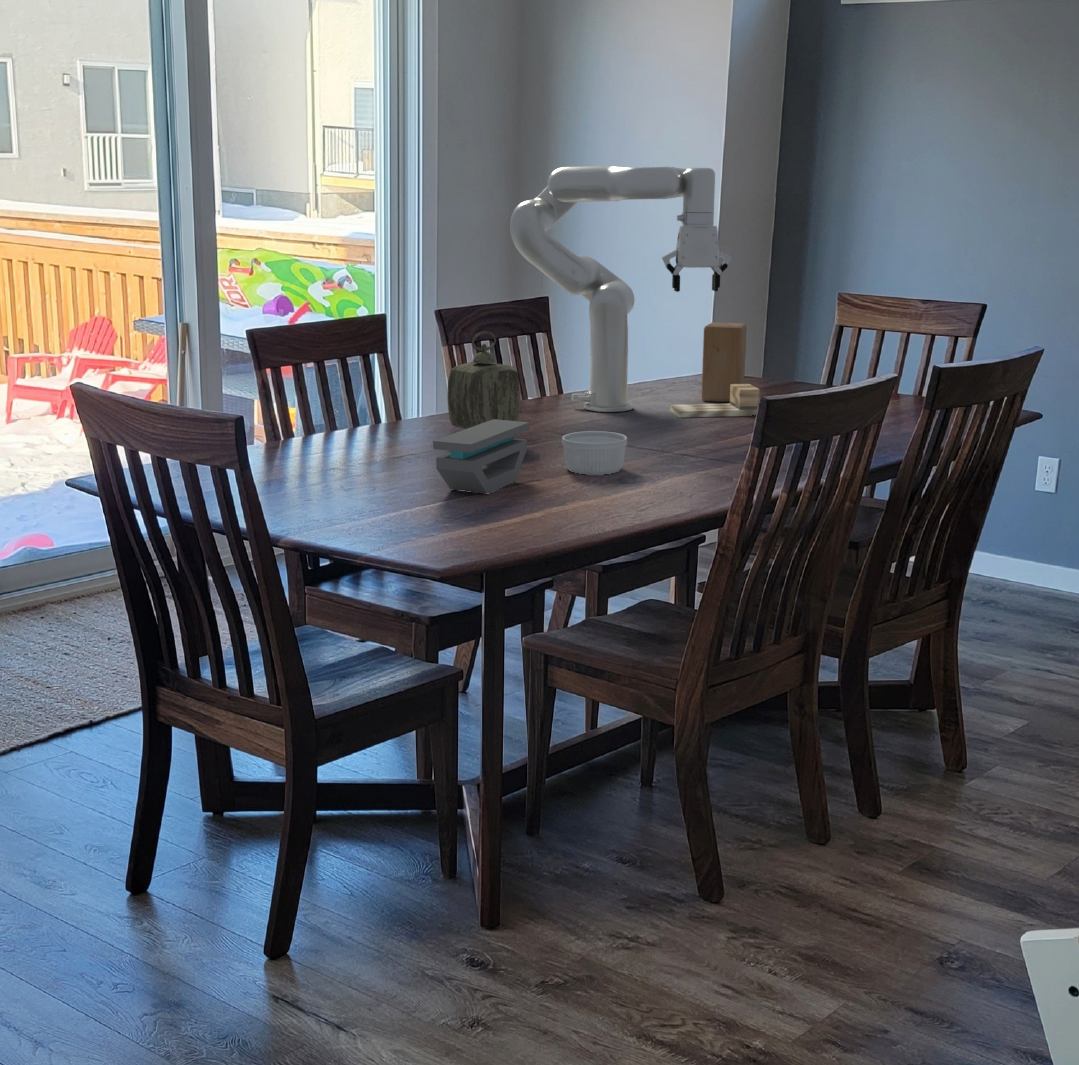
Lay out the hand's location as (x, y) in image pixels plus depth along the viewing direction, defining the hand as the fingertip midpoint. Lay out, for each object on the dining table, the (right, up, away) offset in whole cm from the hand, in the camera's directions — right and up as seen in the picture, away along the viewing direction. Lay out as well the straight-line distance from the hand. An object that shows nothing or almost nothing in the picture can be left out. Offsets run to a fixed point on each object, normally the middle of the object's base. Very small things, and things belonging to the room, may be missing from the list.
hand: (695, 291), depth 337 cm
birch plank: (+7, -30, +7) cm, 31 cm away
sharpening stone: (-50, -51, -73) cm, 102 cm away
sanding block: (+13, -28, +7) cm, 32 cm away
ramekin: (-27, -47, -58) cm, 80 cm away
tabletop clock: (-51, -40, -32) cm, 72 cm away
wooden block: (+10, -24, +27) cm, 38 cm away
